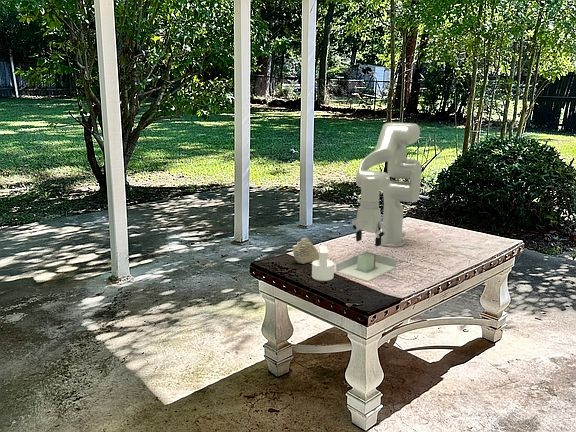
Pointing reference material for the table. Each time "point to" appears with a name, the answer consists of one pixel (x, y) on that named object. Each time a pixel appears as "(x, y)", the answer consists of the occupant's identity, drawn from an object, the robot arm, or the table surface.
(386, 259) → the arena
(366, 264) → the block
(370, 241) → the table surface
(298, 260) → the fossil tooth
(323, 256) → the white knob
